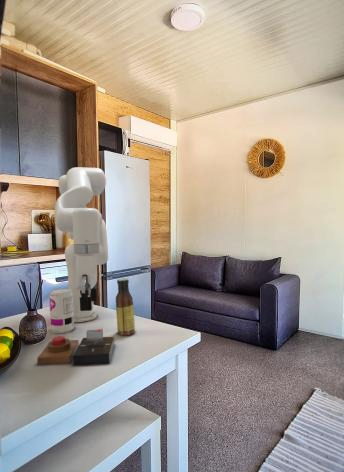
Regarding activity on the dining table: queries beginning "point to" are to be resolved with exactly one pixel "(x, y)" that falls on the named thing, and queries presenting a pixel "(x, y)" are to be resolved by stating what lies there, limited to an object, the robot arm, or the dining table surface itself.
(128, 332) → the sauce bottle
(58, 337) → the button
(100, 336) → the grey flat block
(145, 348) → the dining table surface
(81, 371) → the dining table surface
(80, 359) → the switch base
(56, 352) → the button block
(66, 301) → the supplement can
